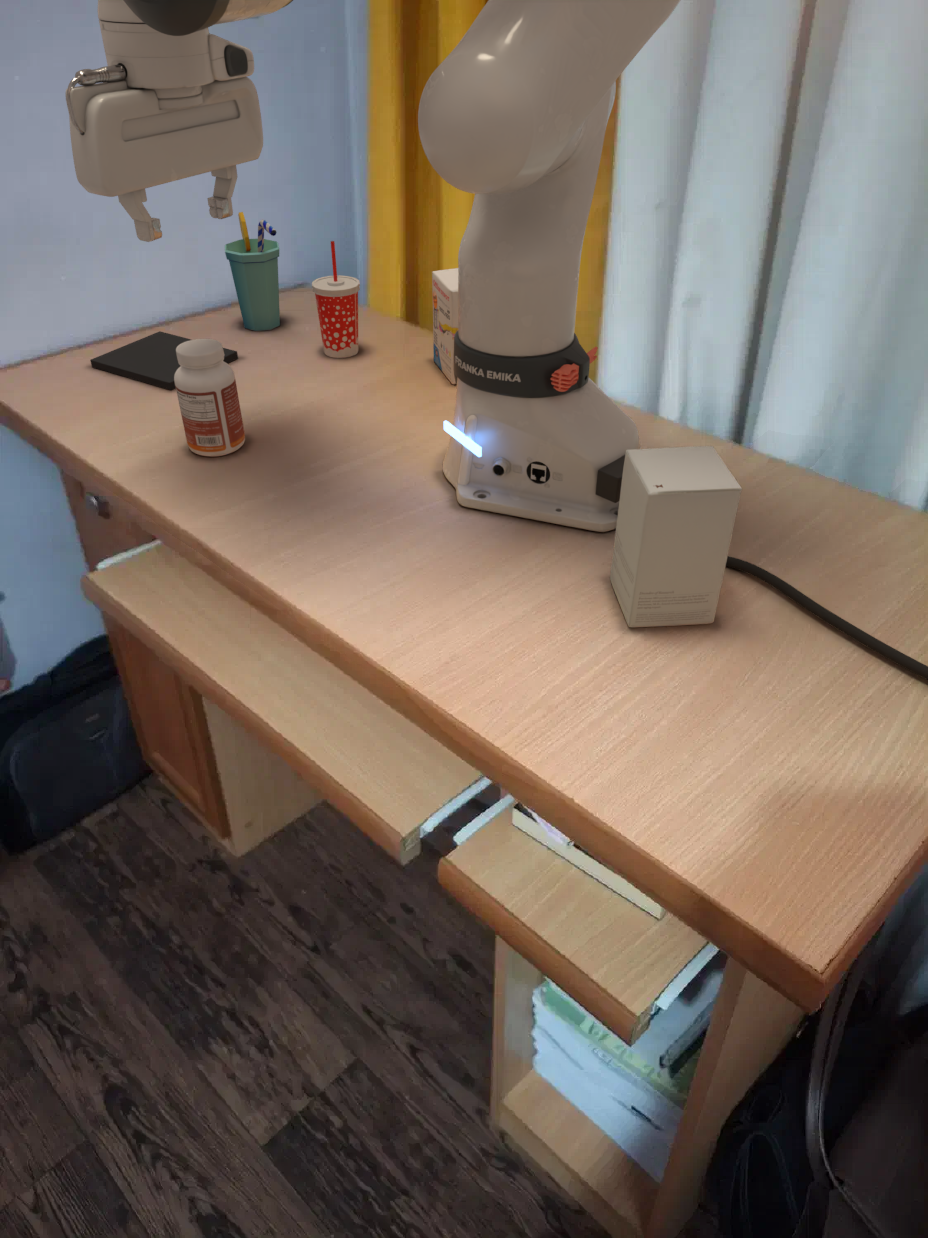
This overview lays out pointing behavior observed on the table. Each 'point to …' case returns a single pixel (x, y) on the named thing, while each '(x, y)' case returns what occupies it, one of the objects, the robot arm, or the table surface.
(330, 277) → the beverage cup
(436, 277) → the ink box
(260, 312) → the cup
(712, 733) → the table surface
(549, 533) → the table surface
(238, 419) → the pill bottle
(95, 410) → the table surface
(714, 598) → the white packaging box
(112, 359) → the mat
